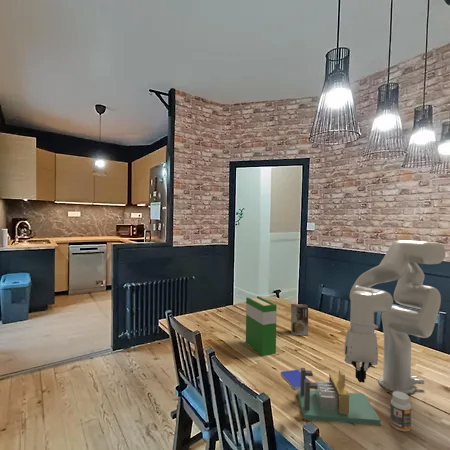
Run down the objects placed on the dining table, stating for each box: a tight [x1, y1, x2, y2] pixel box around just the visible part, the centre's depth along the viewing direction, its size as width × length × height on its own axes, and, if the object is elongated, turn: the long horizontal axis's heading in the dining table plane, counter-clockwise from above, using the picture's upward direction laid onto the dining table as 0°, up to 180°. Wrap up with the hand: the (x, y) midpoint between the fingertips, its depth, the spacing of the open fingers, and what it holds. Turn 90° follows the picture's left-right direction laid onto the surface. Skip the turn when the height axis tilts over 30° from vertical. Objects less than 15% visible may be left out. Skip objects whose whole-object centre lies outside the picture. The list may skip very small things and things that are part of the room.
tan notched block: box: [328, 368, 350, 415], centre depth 106 cm, size 3×14×10 cm, turn 175°
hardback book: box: [245, 295, 277, 357], centre depth 156 cm, size 18×7×24 cm, turn 23°
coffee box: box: [290, 303, 309, 336], centre depth 176 cm, size 9×6×16 cm
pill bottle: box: [389, 391, 412, 432], centre depth 97 cm, size 6×6×10 cm
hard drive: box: [280, 369, 309, 391], centre depth 125 cm, size 2×8×12 cm
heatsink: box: [314, 380, 339, 412], centre depth 107 cm, size 8×10×6 cm
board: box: [296, 367, 382, 426], centre depth 106 cm, size 24×15×11 cm, turn 85°
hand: (360, 380), depth 106 cm, fingers closed
